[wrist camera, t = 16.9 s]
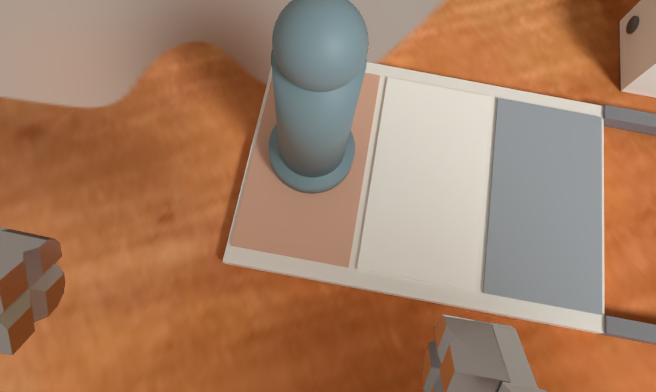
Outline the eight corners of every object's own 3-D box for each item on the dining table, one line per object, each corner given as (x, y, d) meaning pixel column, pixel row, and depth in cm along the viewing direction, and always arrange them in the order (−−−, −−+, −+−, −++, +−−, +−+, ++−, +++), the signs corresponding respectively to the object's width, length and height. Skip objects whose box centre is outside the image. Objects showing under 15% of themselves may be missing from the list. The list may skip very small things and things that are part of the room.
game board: (745, 361, 28) (760, 362, 27) (224, 263, 28) (222, 260, 27) (724, 135, 33) (737, 129, 32) (277, 52, 33) (276, 43, 32)
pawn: (345, 200, 29) (384, 87, 16) (261, 184, 29) (234, 58, 16) (358, 124, 30) (403, -33, 18) (279, 109, 30) (267, -59, 18)
